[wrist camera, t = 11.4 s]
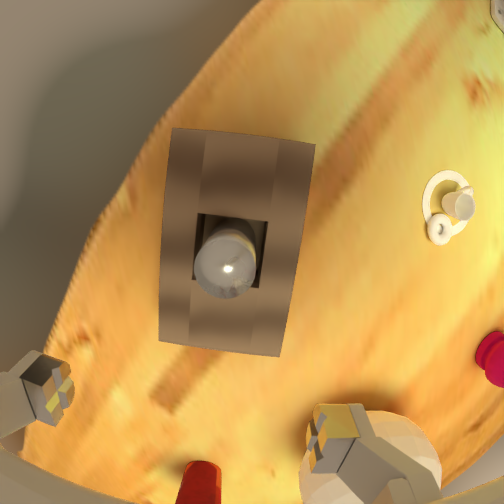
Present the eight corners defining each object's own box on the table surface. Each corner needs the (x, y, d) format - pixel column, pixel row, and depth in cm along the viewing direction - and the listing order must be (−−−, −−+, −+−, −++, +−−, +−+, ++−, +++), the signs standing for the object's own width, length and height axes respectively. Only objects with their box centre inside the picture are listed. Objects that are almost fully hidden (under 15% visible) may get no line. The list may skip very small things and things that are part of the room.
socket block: (187, 134, 30) (172, 127, 25) (304, 148, 31) (315, 144, 25) (172, 314, 35) (158, 340, 30) (275, 328, 36) (279, 357, 30)
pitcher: (425, 378, 38) (506, 505, 14) (390, 457, 43) (431, 567, 19) (301, 388, 38) (332, 565, 14) (287, 468, 43) (297, 598, 19)
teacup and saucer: (432, 252, 34) (449, 261, 30) (404, 196, 32) (421, 200, 28) (478, 213, 32) (497, 218, 28) (454, 157, 31) (473, 158, 27)
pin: (214, 214, 31) (196, 235, 22) (258, 220, 32) (259, 243, 22) (209, 257, 33) (191, 294, 23) (252, 262, 33) (251, 302, 23)
